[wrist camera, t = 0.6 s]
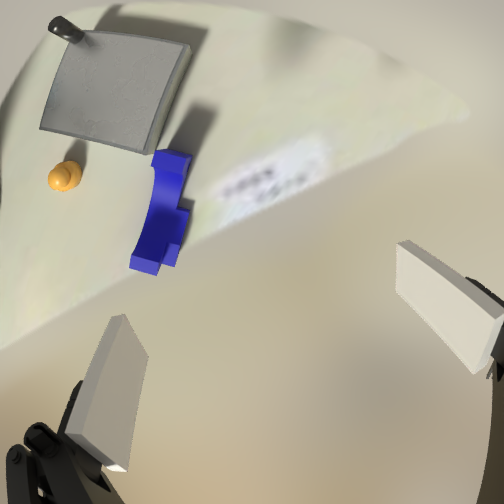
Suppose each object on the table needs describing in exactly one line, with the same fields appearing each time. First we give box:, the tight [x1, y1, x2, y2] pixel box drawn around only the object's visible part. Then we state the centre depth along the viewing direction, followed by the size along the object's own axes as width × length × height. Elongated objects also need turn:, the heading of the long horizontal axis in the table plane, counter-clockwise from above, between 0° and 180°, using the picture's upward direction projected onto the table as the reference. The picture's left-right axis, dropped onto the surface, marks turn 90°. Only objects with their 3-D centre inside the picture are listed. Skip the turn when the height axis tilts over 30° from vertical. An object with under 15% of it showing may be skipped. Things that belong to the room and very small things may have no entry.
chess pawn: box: [48, 161, 82, 191], centre depth 26 cm, size 3×3×4 cm
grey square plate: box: [39, 16, 192, 155], centre depth 21 cm, size 14×12×9 cm
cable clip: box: [129, 149, 192, 276], centre depth 28 cm, size 12×4×6 cm, turn 161°
